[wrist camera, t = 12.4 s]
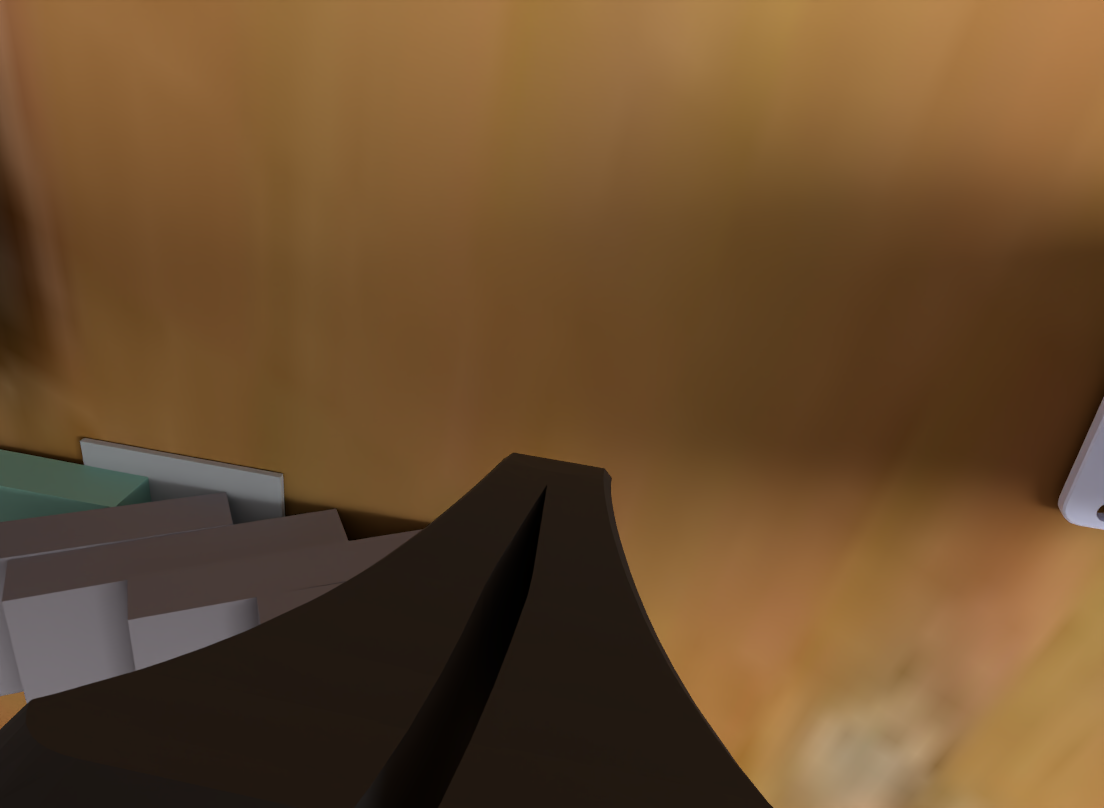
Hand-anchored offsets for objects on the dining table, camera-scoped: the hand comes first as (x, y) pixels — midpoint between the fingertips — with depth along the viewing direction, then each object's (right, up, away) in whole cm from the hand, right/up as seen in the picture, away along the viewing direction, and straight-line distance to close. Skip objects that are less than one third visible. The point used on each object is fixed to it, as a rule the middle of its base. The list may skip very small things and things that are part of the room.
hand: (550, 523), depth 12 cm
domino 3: (-6, -4, +13) cm, 15 cm away
